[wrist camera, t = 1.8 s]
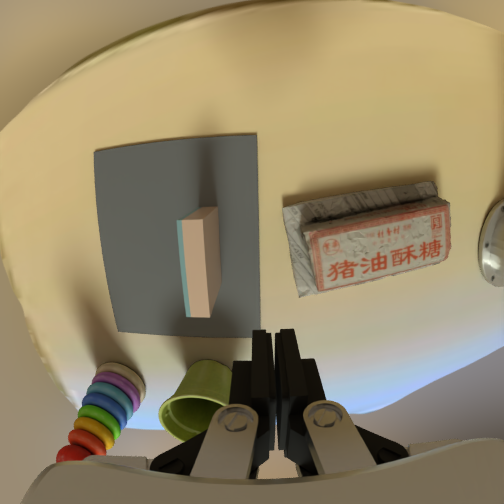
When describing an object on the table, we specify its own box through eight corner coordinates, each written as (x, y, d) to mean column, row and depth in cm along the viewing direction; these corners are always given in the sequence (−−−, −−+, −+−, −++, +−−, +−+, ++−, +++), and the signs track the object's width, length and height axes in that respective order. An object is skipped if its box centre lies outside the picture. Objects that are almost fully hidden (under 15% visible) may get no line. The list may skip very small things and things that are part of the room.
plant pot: (233, 341, 33) (226, 389, 25) (256, 395, 36) (255, 444, 27) (164, 354, 34) (143, 399, 26) (193, 405, 37) (181, 450, 28)
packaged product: (454, 182, 23) (456, 273, 26) (430, 179, 28) (435, 260, 30) (283, 212, 25) (302, 314, 27) (279, 205, 29) (296, 294, 32)
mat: (256, 135, 27) (256, 135, 27) (260, 336, 33) (260, 337, 33) (95, 152, 28) (93, 152, 27) (119, 330, 34) (118, 331, 33)
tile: (218, 206, 29) (202, 219, 21) (221, 281, 31) (210, 317, 23) (198, 207, 29) (176, 220, 21) (203, 281, 31) (186, 316, 23)
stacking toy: (89, 362, 35) (25, 450, 17) (130, 356, 35) (67, 461, 17) (116, 401, 37) (69, 490, 19) (156, 398, 37) (115, 502, 19)
